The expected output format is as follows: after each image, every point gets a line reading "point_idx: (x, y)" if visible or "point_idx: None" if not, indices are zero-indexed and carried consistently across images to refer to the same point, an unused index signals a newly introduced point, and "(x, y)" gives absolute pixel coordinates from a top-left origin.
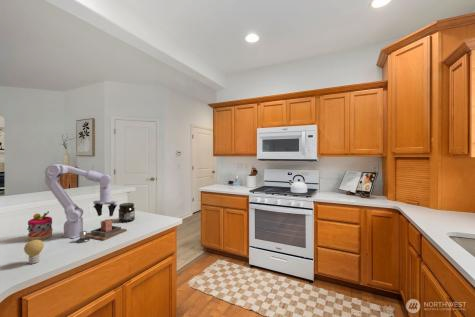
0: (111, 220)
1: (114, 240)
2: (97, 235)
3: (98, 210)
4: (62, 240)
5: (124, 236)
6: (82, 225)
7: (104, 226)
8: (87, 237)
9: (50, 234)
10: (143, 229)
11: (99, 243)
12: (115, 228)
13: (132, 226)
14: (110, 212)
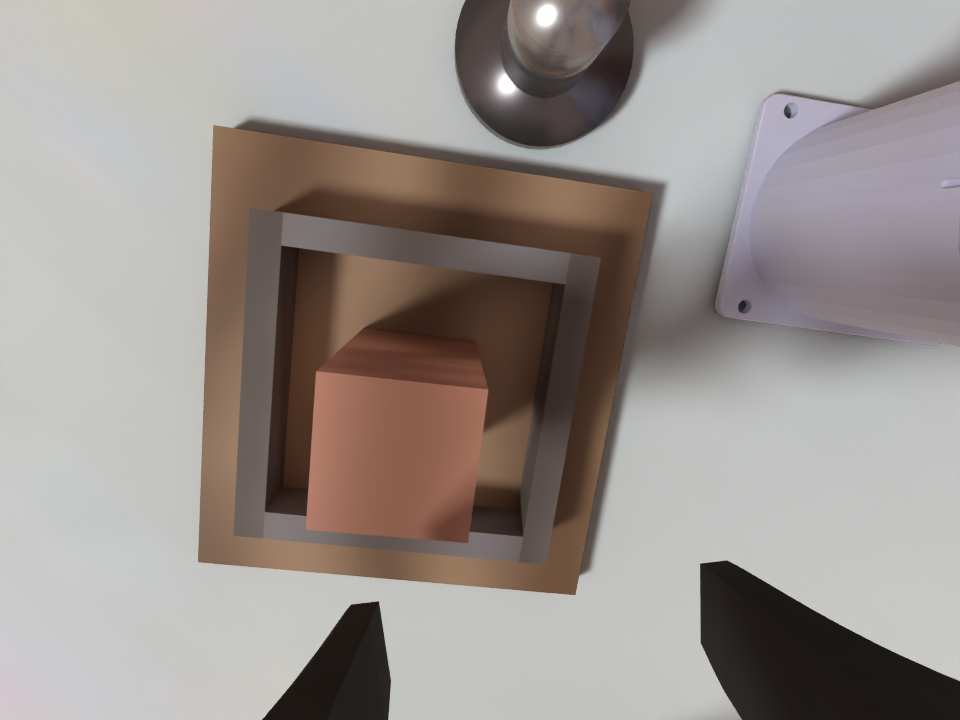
0: (308, 520)
1: (62, 174)
2: (439, 232)
3: (824, 687)
4: (871, 7)
5: (49, 350)
6: (858, 283)
7: (382, 354)
8: (541, 136)
9: None
10: (4, 649)
11: (193, 15)
12: None
13: None
14: (293, 688)
